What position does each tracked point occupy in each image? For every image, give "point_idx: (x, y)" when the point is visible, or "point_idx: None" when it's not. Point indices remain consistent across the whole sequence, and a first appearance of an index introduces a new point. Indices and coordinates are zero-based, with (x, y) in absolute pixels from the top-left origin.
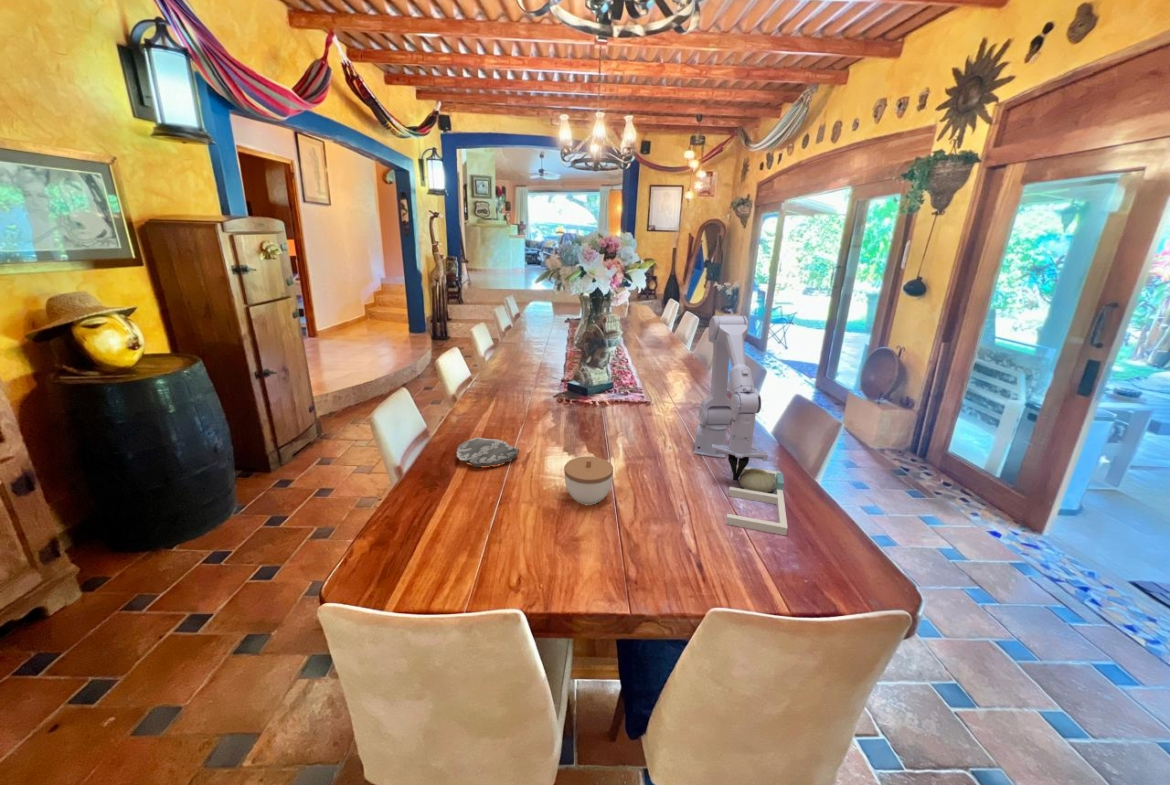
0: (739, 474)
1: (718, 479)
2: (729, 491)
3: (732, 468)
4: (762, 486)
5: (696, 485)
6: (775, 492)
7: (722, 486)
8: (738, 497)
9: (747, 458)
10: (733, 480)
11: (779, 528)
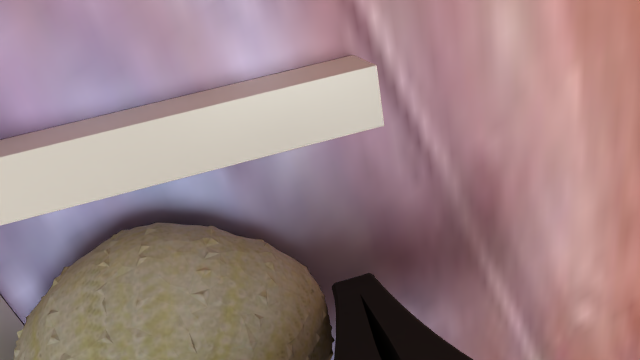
0: (345, 332)
1: (462, 258)
2: (364, 62)
3: (450, 352)
4: (70, 292)
5: (612, 83)
6: None
7: (424, 185)
8: (264, 77)
9: None
10: (369, 273)
11: None
